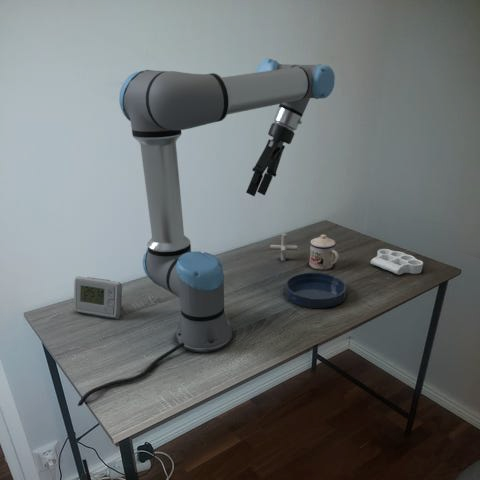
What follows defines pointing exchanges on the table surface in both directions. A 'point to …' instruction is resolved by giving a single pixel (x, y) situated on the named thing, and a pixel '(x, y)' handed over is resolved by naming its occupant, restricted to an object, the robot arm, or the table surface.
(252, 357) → the table surface
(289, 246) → the pipe connector
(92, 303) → the digital clock
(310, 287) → the bowl
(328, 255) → the teacup with lid
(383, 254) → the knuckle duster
